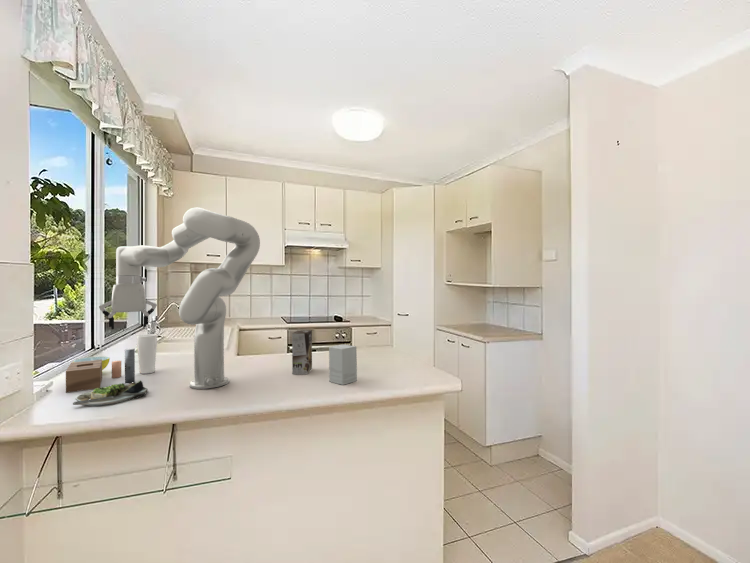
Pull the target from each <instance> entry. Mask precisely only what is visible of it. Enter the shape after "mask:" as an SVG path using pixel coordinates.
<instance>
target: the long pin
mask: <svg viewBox="0 0 750 563" xmlns="http://www.w3.org/2000/svg"><path fill="white" fill-rule="evenodd" d="M135 353H136V352H135V348H126V349H124V384H126V383H129V384H131V383H132V382H134V383H136V379H135V378H136V369H135V368H136V366H135V365H136V364H135V363H136V360H135V358H136V356H135V355H136V354H135Z"/></svg>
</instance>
